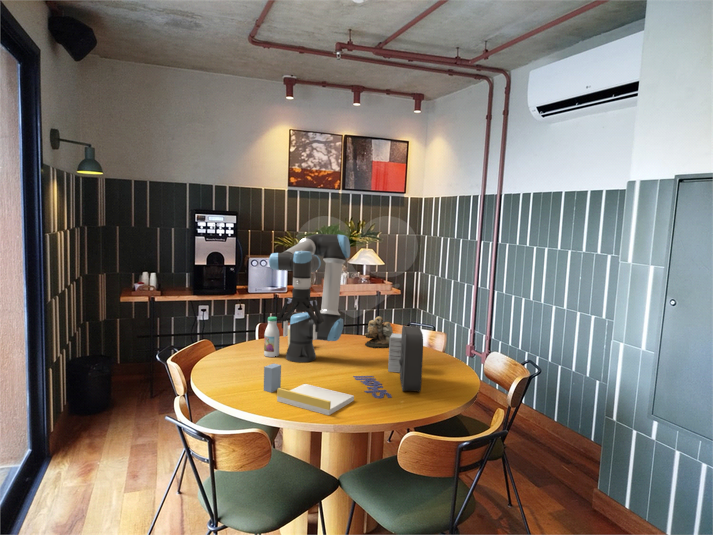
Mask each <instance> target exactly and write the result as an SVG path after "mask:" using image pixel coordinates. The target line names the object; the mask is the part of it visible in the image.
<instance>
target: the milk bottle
mask: <svg viewBox="0 0 713 535" xmlns="http://www.w3.org/2000/svg"><path fill="white" fill-rule="evenodd" d="M277 320H278V316H268V317H267V326H266V328H265V331H264V339H263V341H264V343H263V344H264V346H263V355H264V356H265V357H266V358H275V356H276V357H279V356H280V340H281V339H280V330H279V327H278V325H277V324H278V323H277Z"/></svg>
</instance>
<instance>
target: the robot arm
mask: <svg viewBox="0 0 713 535" xmlns="http://www.w3.org/2000/svg"><path fill="white" fill-rule="evenodd" d="M350 256H351V243H350V240H349V237H348V236H347V235H344V234H337V233H336V234H335V233H333V234H332V233H330V234H329V233H316V234H312V235H308V236H305V237H304V238H302V239H301V240H299V242H298V243H297V244H295V245H293V246H291V247H290V248H288V249H287V250H284V251H283V252H272V253H270V255H269V258H268V265H269V268H270V269H271V270H275V271H288V272H291V271H292V287H293V288H292V293H291V294H292V296H291V297H292V298H290V297H286V298H285V299H284V304H283V306H282V308H281V310H280V312H279V314H278V315H277V320H280V322H281V329H282V330H283V331H282V333H283V334H282V336H283V338H286V337H288V325H290V344H289V347H288V346H287V350H286V353H285V359H286V360H287V361H289V360H290V361H289V362H295V363H308V362H312V361H315V360H316V352H315V347H314V344H313V342H314V341H315V340H316V341H324V342H325V341H326V342H337V341H339V340H340V338H341V336H342V332H343V329H344V319H343V318H341V313H340V312H339V304H340V293H341V282H342V272H343V265H344V264H345V263H346V260H347V259H349V258H350ZM320 257H323V258H322V260H323V262H324V263H325V267H324V275H323V277H324V278H323V287H322V297H321V306H320V307H321V308H319V306H318V300H316V299H315V300H311V286H312V282H311V281H312V273H314V272H317V271H318V270H319V269H320V267H321V266H322V262H321V259H320ZM290 304H292V306H291V307H290V309H289V310H288V307H289V306H290ZM310 305H311V306H312V308H311V307H310ZM312 309H313V310H314V311H313V310H312ZM287 310H288V311H287ZM295 310H296V311H305V312H298V313H294V312H295ZM293 313H294V314H293ZM289 317H290V321H288V320H287V319H289Z"/></svg>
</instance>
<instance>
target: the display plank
mask: <svg viewBox="0 0 713 535" xmlns="http://www.w3.org/2000/svg"><path fill="white" fill-rule="evenodd" d="M276 392H277V394H276V401H277V402H279V403H283V404H287V405H291V406H293V407H297V408H301V409H304V410H307V411H311V412H315V413H318V414H319V413H320V414H323V415H326V416H330V415H332V414H334V413H335V412H337V411H339V410H340V409H342V408H344V407H345V406H348V405H349V404H351V403H352V402H354V400H355V396H354V394H353V395H352V394H348V393H344V392H340V391H336V390H331V389H328V388H324V387H320V386H316V385H312V384H307V383H303V384H301V385H299V386H297V387H295V388H292V389H290V390H289V389H285V388H278V389H277V390H276Z"/></svg>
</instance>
